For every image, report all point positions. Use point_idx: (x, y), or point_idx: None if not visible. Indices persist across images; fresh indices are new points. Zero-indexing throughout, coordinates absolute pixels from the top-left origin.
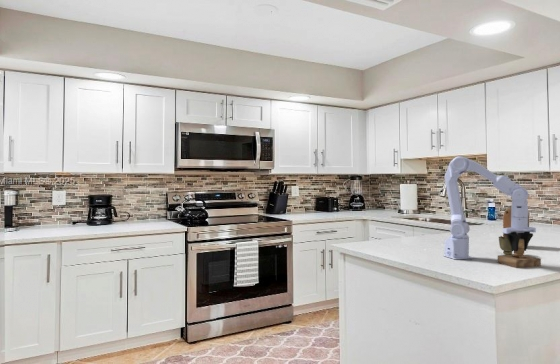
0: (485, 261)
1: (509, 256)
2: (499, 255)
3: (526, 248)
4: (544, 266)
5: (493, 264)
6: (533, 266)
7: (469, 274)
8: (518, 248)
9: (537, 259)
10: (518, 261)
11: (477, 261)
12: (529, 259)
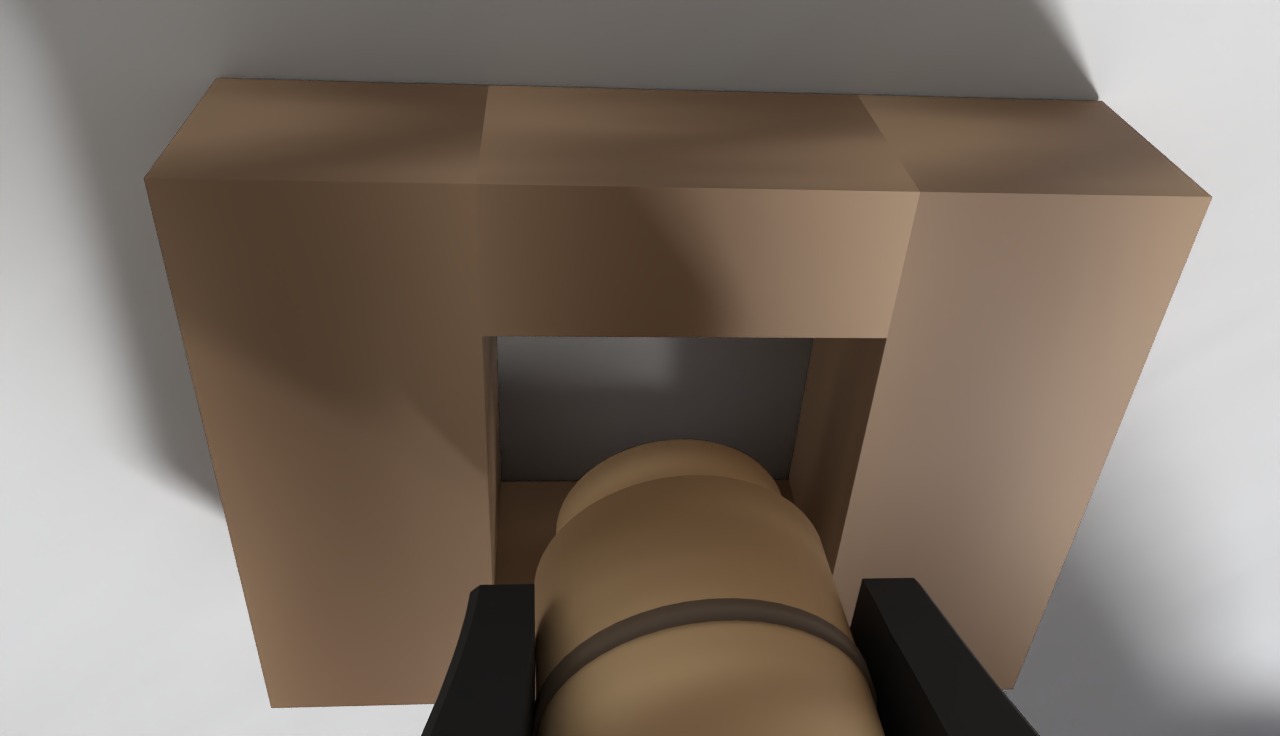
0: (1054, 664)
1: (852, 577)
2: None
3: (478, 640)
4: (111, 28)
5: (1189, 476)
6: (495, 88)
7: None
8: (854, 655)
9: (310, 169)
10: (1107, 176)
11: (1189, 684)
12: (671, 184)
